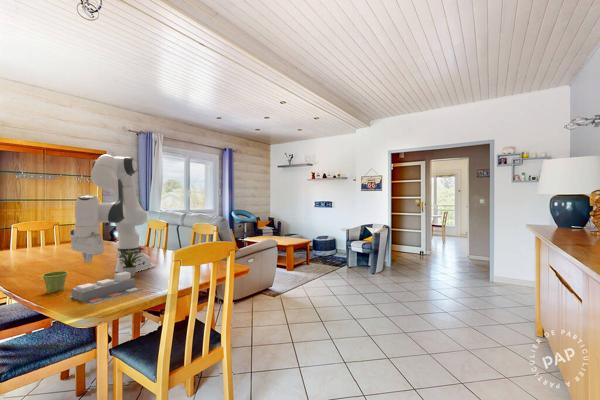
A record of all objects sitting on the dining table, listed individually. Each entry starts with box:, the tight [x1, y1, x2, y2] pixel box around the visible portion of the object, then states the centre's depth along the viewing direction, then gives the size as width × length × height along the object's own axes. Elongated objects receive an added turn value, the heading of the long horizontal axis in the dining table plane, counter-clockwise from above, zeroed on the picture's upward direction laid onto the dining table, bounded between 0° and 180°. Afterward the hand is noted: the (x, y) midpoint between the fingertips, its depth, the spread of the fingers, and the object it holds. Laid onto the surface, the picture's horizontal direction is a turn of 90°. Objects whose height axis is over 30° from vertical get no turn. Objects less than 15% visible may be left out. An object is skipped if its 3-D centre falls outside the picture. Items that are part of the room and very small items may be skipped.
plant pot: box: [41, 270, 69, 294], centre depth 135 cm, size 9×9×9 cm
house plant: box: [117, 250, 142, 277], centre depth 159 cm, size 14×14×16 cm
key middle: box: [96, 278, 114, 286], centre depth 133 cm, size 5×5×5 cm
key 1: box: [76, 282, 95, 291], centre depth 126 cm, size 5×5×5 cm
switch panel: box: [67, 277, 145, 306], centre depth 132 cm, size 23×20×5 cm
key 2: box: [114, 272, 132, 282], centre depth 140 cm, size 5×5×5 cm
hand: (87, 262), depth 126 cm, fingers closed
